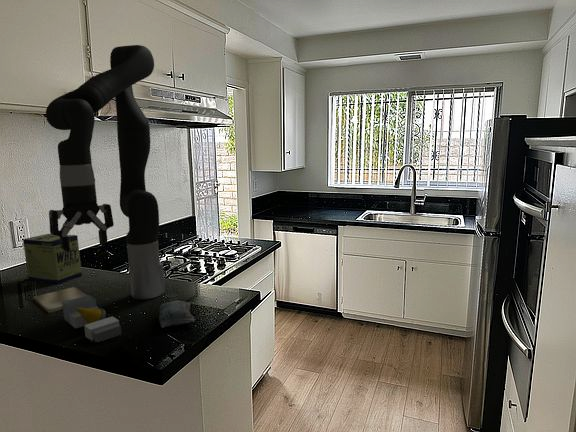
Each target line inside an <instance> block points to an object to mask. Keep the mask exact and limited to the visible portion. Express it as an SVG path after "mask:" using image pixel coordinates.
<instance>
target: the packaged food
mask: <svg viewBox="0 0 576 432" xmlns="http://www.w3.org/2000/svg"><path fill="white" fill-rule="evenodd" d="M191 304H192V302H191V301H188V302H187V301H183V300H178V299H177V300H172V301H168V302H164V303H162V304H160V306H159V308H158V309H159V317H158V322H159V325H160V327H161V328H162V329H163V328H172V327H176V326H175V325H177V326H181V325H180V324H182V325H185V323H186V324H188V323H194V322H195V317H194V316H193V315H192V314H191V311H190V307H191ZM171 326H172V327H171Z"/></svg>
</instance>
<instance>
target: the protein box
mask: <svg viewBox="0 0 576 432" xmlns="http://www.w3.org/2000/svg"><path fill="white" fill-rule="evenodd" d="M67 236H68V238H69V246H70V251H69V252H66V251H64V250H63V249H62V248H61V243H60V237H59V236H55V235H52V234H51V233H45V234H42V235H41V234H40V235H37V236H32V237H28V238H23V240H22V242H23V249H24V257H25V264H26V272H27V280H28V281H30V280H32V281H31V282H38V281H39V282H40V283H45V282H46V284H54V285H59V284H63V283H65V282H68V281H71V280H73V279H77V278H79V277H82V276H83V273H82V263H81V256H80V247H79V246H80V245H79V239H78V234H67Z"/></svg>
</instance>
